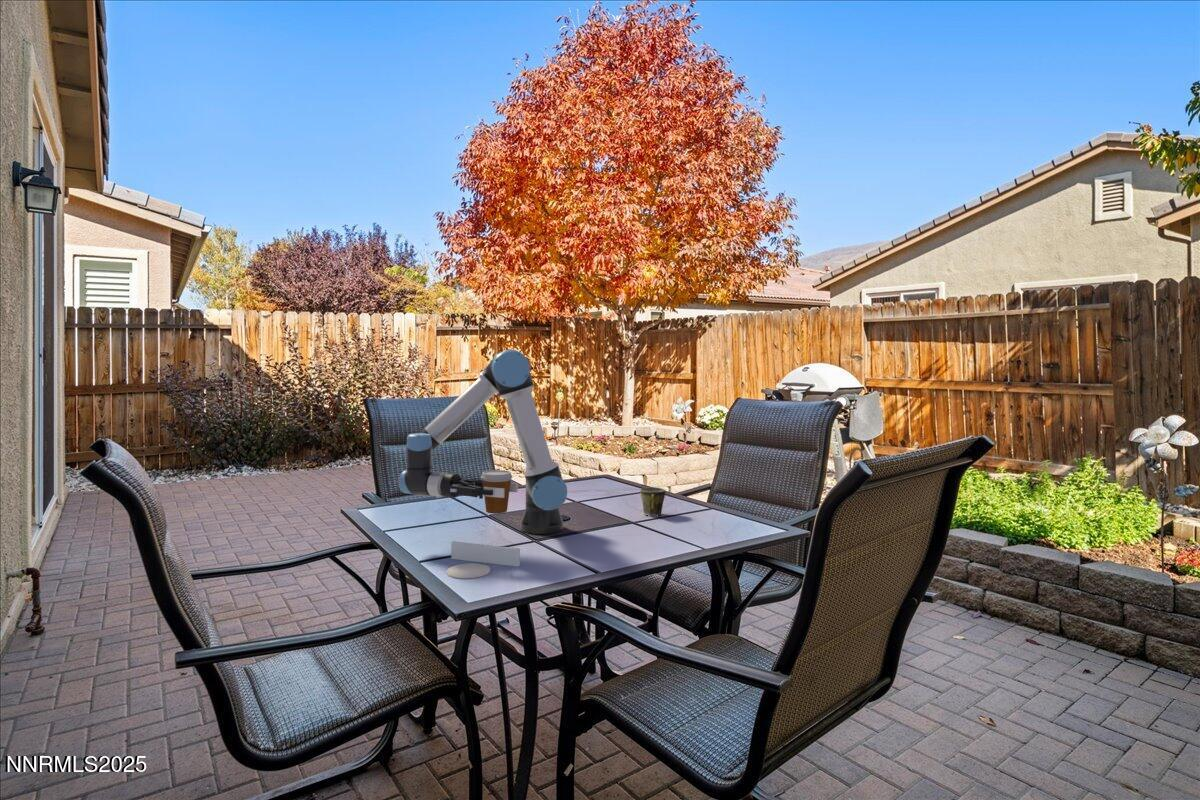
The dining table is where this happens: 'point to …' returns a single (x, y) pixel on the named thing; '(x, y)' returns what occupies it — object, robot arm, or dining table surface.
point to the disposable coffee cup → (497, 481)
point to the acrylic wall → (485, 553)
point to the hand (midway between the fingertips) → (510, 490)
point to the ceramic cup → (652, 500)
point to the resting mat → (468, 571)
